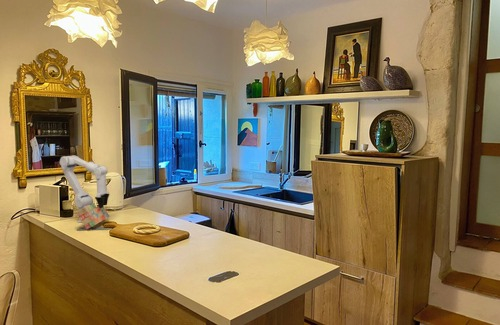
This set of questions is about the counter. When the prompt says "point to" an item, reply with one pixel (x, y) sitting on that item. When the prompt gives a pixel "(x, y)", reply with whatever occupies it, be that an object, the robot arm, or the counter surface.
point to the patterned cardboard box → (92, 215)
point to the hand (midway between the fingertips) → (103, 206)
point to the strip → (93, 228)
